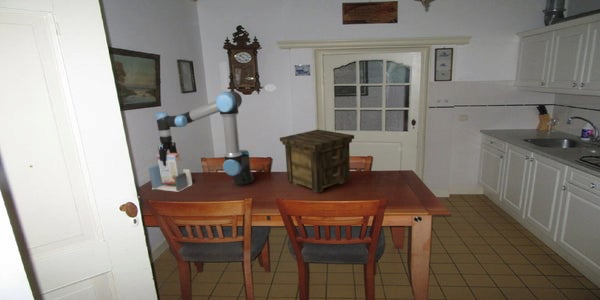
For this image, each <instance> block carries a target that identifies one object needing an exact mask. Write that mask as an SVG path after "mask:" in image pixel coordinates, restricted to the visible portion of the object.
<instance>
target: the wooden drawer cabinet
mask: <svg viewBox="0 0 600 300" xmlns="http://www.w3.org/2000/svg"><path fill="white" fill-rule="evenodd" d="M353 140H355V134H347V133H342V132H337V131H330V130H325V129H324V130H322V129H314V130H309V131H304V132H300V133H296V134H291V135H287V136H283V137H279V141H280V142H281V143H282V144H281V145H284V149H285V150H284V152H285V163H286V165H285V167H286V178H287V181H288V182H292V184H293V185H296V186H298V185H301V186H305V187H307V188H309V189H311V190H312V192H314V193H317V194H319V193H321V192H323V191H324V189H325V188H327V187H330V186H334V185H335V184H339V185H341V184H344V183H346V181H349V180H350V179H351V177H350V176H351V171H350V170H351V169H350V168H351V167H350V161H351V159H350V155H351V154H350V143H352V142H353Z"/></svg>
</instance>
